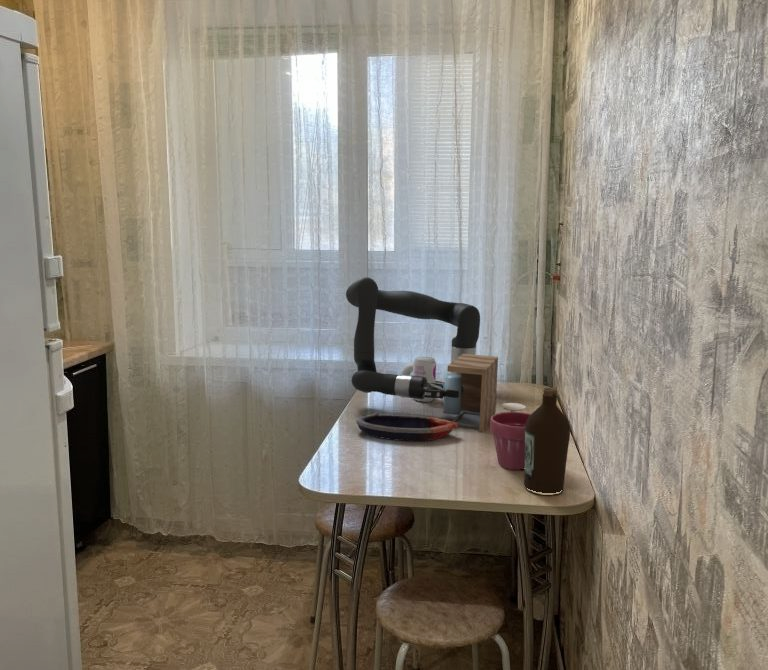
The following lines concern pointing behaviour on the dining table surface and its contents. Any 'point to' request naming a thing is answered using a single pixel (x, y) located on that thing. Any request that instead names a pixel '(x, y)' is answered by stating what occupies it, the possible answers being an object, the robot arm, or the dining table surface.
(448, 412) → the tall pale blue cylinder
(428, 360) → the supplement can
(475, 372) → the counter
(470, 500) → the dining table surface
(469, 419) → the tray
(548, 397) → the olive oil
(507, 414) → the plant pot
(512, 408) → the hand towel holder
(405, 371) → the donut
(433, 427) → the dish
